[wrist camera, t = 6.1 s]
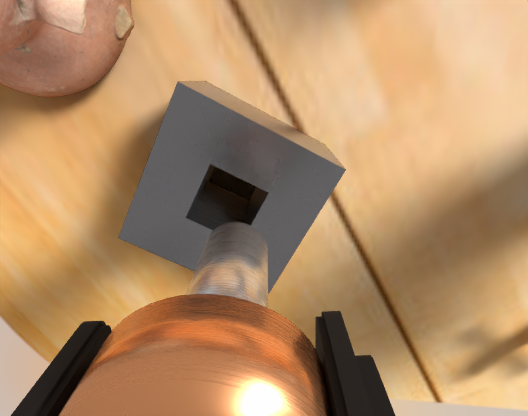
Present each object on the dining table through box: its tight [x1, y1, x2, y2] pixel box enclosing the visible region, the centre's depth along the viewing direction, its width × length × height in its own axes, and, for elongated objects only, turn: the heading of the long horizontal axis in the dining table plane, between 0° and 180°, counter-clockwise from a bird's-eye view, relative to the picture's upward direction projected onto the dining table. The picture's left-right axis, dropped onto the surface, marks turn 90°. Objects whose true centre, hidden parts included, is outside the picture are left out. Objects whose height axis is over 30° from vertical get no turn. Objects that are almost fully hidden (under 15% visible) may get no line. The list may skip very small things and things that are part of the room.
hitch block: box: [118, 81, 346, 294], centre depth 27 cm, size 12×12×9 cm
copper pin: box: [59, 222, 332, 416], centre depth 12 cm, size 6×6×10 cm
